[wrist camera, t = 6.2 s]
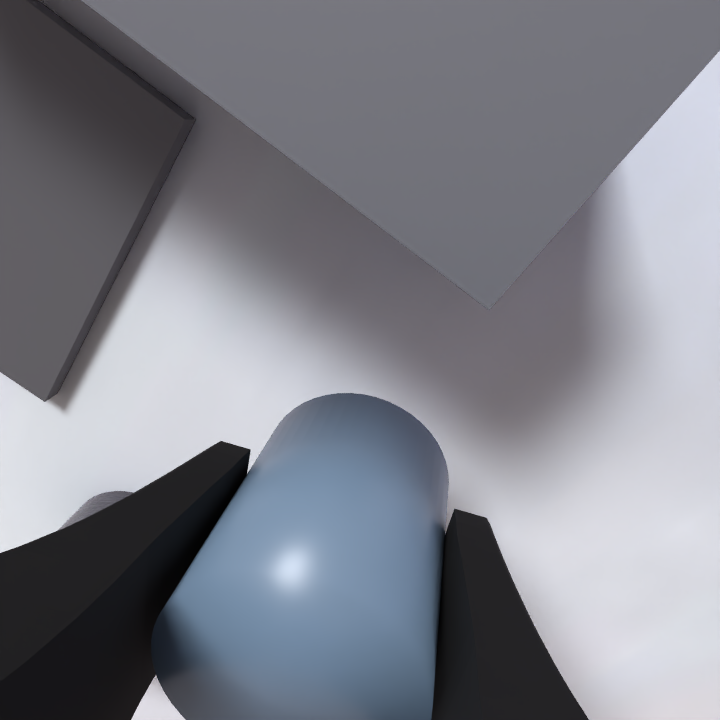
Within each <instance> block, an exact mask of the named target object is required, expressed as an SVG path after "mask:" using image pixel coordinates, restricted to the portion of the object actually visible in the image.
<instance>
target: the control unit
mask: <svg viewBox="0 0 720 720" xmlns="http://www.w3.org/2000/svg"><path fill="white" fill-rule="evenodd" d="M81 1H82V2H84V3H85V4H86V5H88V6H89V7H90V8H92V9H93V10H94V11H96V12H97V13H98V14H100V15H101V16H102V17H104V18H105V19H106V20H107V21H109V22H110V23H111V24H113V25H114V26H115V27H117V28H118V29H119V30H121V31H122V32H123V33H125V34H126V35H127V36H129V37H130V38H131V39H132V40H134V41H135V42H136V43H138V44H139V45H140V46H142V47H143V48H144V49H146V50H147V51H148V52H150V53H151V54H152V55H154V56H155V57H156V58H157V59H159V60H160V61H161V62H163V63H164V64H165V65H167V66H168V67H169V68H171V69H172V70H173V71H175V72H176V73H177V74H179V75H180V76H181V77H183V78H184V79H185V80H186V81H188V82H189V83H190V84H192V85H193V86H194V87H196V88H197V89H198V90H200V91H201V92H202V93H204V94H205V95H206V96H208V97H209V98H210V99H211V100H213V101H214V102H215V103H217V104H218V105H219V106H221V107H222V108H223V109H225V110H226V111H227V112H229V113H230V114H231V115H233V116H234V117H235V118H236V119H238V120H239V121H240V122H242V123H243V124H244V125H246V126H247V127H248V128H250V129H251V130H252V131H254V132H255V133H256V134H258V135H259V136H260V137H261V138H263V139H264V140H265V141H267V142H268V143H269V144H271V145H272V146H273V147H275V148H276V149H277V150H279V151H280V152H281V153H283V154H284V155H285V156H286V157H288V158H289V159H290V160H292V161H293V162H294V163H296V164H297V165H298V166H300V167H301V168H302V169H304V170H305V171H306V172H308V173H309V174H310V175H311V176H313V177H314V178H315V179H317V180H318V181H319V182H321V183H322V184H323V185H325V186H326V187H327V188H329V189H330V190H331V191H333V192H334V193H335V194H336V195H338V196H339V197H340V198H342V199H343V200H344V201H346V202H347V203H348V204H350V205H351V206H352V207H354V208H355V209H356V210H358V211H359V212H360V213H362V214H363V215H364V216H365V217H367V218H368V219H369V220H371V221H372V222H373V223H375V224H376V225H377V226H379V227H380V228H381V229H383V230H384V231H385V232H387V233H388V234H389V235H390V236H392V237H393V238H394V239H396V240H397V241H398V242H400V243H401V244H402V245H404V246H405V247H406V248H408V249H409V250H410V251H412V252H413V253H414V254H415V255H417V256H418V257H419V258H421V259H422V260H423V261H425V262H426V263H427V264H429V265H430V266H431V267H433V268H434V269H435V270H437V271H438V272H439V273H440V274H442V275H443V276H444V277H446V278H447V279H448V280H450V281H451V282H452V283H454V284H455V285H456V286H458V287H459V288H460V289H462V290H463V291H464V292H465V293H467V294H468V295H469V296H471V297H472V298H473V299H475V300H476V301H477V302H479V303H480V304H481V305H483V306H484V307H485V308H487V309H488V310H490V309H491V308H492V306H493V305H494V304H495V303H496V302H497V301H498V300H499V299H500V297H501V296H502V295H503V294H504V293H505V292H506V291H507V290H508V288H509V287H510V286H511V285H512V284H513V283H514V282H515V281H516V279H517V278H518V277H519V276H520V275H521V274H522V273H523V272H524V270H525V269H526V268H527V267H528V266H529V265H530V264H531V263H532V261H533V260H534V259H535V258H536V257H537V256H538V255H539V254H540V252H541V251H542V250H543V249H544V248H545V247H546V246H547V244H548V243H549V242H550V241H551V240H552V239H553V238H554V237H555V235H556V234H557V233H558V232H559V231H560V230H561V229H562V228H563V226H564V225H565V224H566V223H567V222H568V221H569V220H570V219H571V217H572V216H573V215H574V214H575V213H576V212H577V211H578V210H579V208H580V207H581V206H582V205H583V204H584V203H585V202H586V201H587V199H588V198H589V197H590V196H591V195H592V194H593V193H594V192H595V190H596V189H597V188H598V187H599V186H600V185H601V184H602V182H603V181H604V180H605V179H606V178H607V177H608V176H609V175H610V173H611V172H612V171H613V170H614V169H615V168H616V167H617V166H618V164H619V163H620V162H621V161H622V160H623V159H624V158H625V157H626V155H627V154H628V153H629V152H630V151H631V150H632V149H633V148H634V146H635V145H636V144H637V143H638V142H639V141H640V140H641V139H642V137H643V136H644V135H645V134H646V133H647V132H648V131H649V130H650V128H651V127H652V126H653V125H654V124H655V123H656V122H657V121H658V119H659V118H660V117H661V116H662V115H663V114H664V113H665V111H666V110H667V109H668V108H669V107H670V106H671V105H672V104H673V102H674V101H675V100H676V99H677V98H678V97H679V96H680V95H681V93H682V92H683V91H684V90H685V89H686V88H687V87H688V86H689V84H690V83H691V82H692V81H693V80H694V79H695V78H696V77H697V75H698V74H699V73H700V72H701V71H702V70H703V69H704V68H705V66H706V65H707V64H708V63H709V62H710V61H711V60H712V59H713V57H714V56H715V55H716V54H717V53H718V52H719V51H720V0H81Z"/></svg>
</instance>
